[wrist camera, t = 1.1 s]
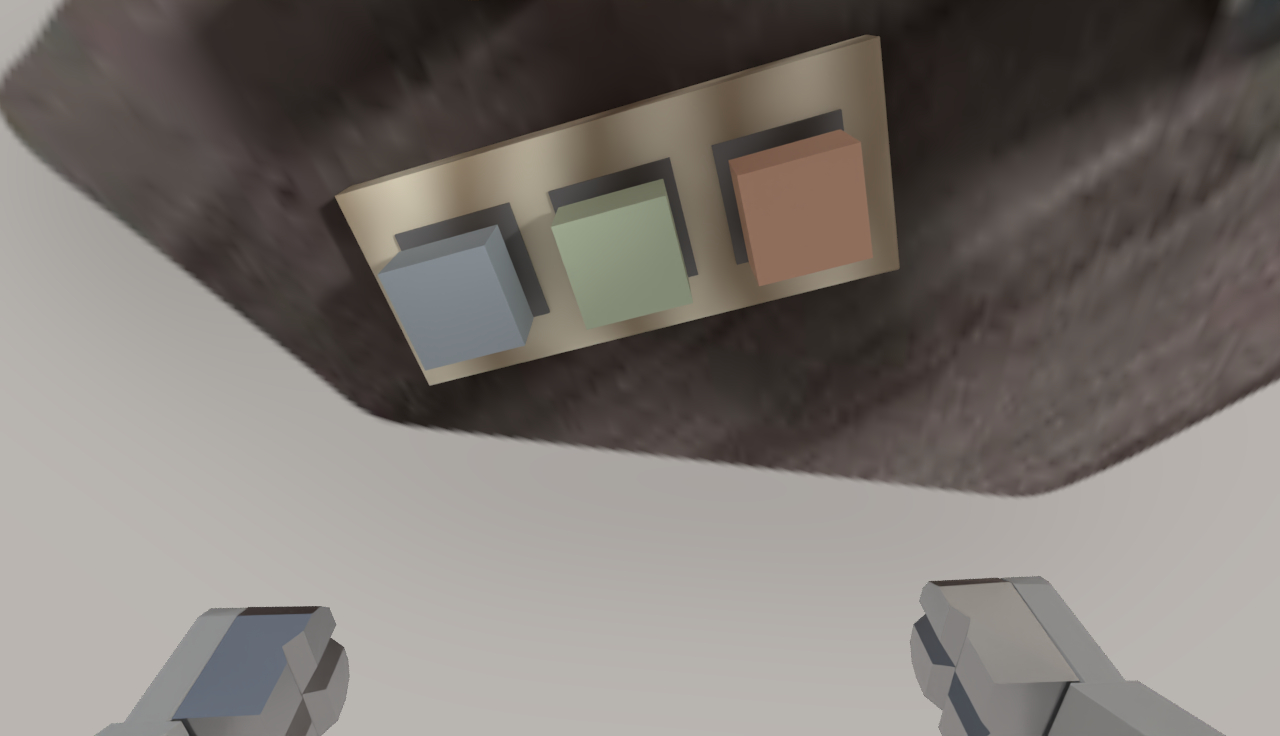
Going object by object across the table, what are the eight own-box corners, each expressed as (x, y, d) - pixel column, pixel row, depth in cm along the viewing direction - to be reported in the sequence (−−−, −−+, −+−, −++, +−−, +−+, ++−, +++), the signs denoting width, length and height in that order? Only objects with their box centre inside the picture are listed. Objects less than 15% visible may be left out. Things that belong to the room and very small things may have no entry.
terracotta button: (840, 129, 29) (860, 141, 26) (853, 236, 31) (873, 257, 28) (728, 160, 29) (737, 175, 27) (748, 262, 32) (759, 286, 29)
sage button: (663, 178, 30) (665, 195, 27) (688, 278, 32) (693, 303, 29) (558, 207, 30) (550, 227, 28) (590, 303, 33) (586, 329, 30)
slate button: (497, 224, 31) (484, 245, 28) (533, 318, 33) (525, 345, 30) (399, 251, 31) (377, 274, 29) (441, 341, 34) (425, 370, 31)
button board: (865, 34, 30) (881, 36, 28) (886, 255, 35) (901, 270, 33) (350, 186, 33) (332, 197, 31) (438, 368, 39) (428, 387, 37)
